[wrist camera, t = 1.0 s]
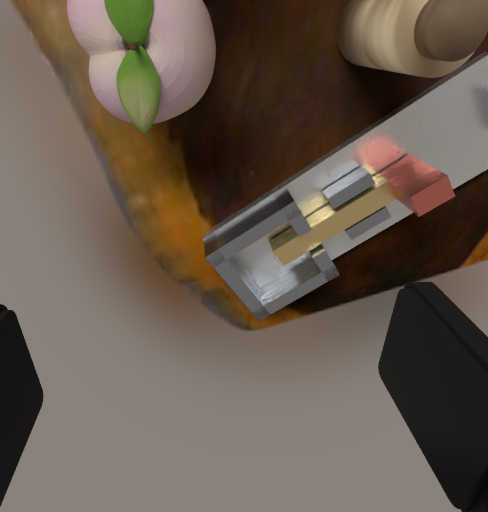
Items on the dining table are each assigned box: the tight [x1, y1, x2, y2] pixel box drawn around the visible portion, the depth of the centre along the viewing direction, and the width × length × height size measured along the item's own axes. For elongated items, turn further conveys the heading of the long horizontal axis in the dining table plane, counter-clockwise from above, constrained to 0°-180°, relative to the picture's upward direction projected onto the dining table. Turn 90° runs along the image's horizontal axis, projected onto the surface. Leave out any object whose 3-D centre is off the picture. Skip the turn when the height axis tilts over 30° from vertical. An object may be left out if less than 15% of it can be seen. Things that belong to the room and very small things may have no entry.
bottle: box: [337, 0, 488, 78], centre depth 24 cm, size 5×5×12 cm
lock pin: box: [269, 154, 455, 266], centre depth 32 cm, size 14×2×6 cm, turn 123°
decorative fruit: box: [67, 0, 216, 134], centre depth 23 cm, size 9×8×10 cm
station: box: [202, 52, 488, 321], centre depth 34 cm, size 28×10×4 cm, turn 123°
